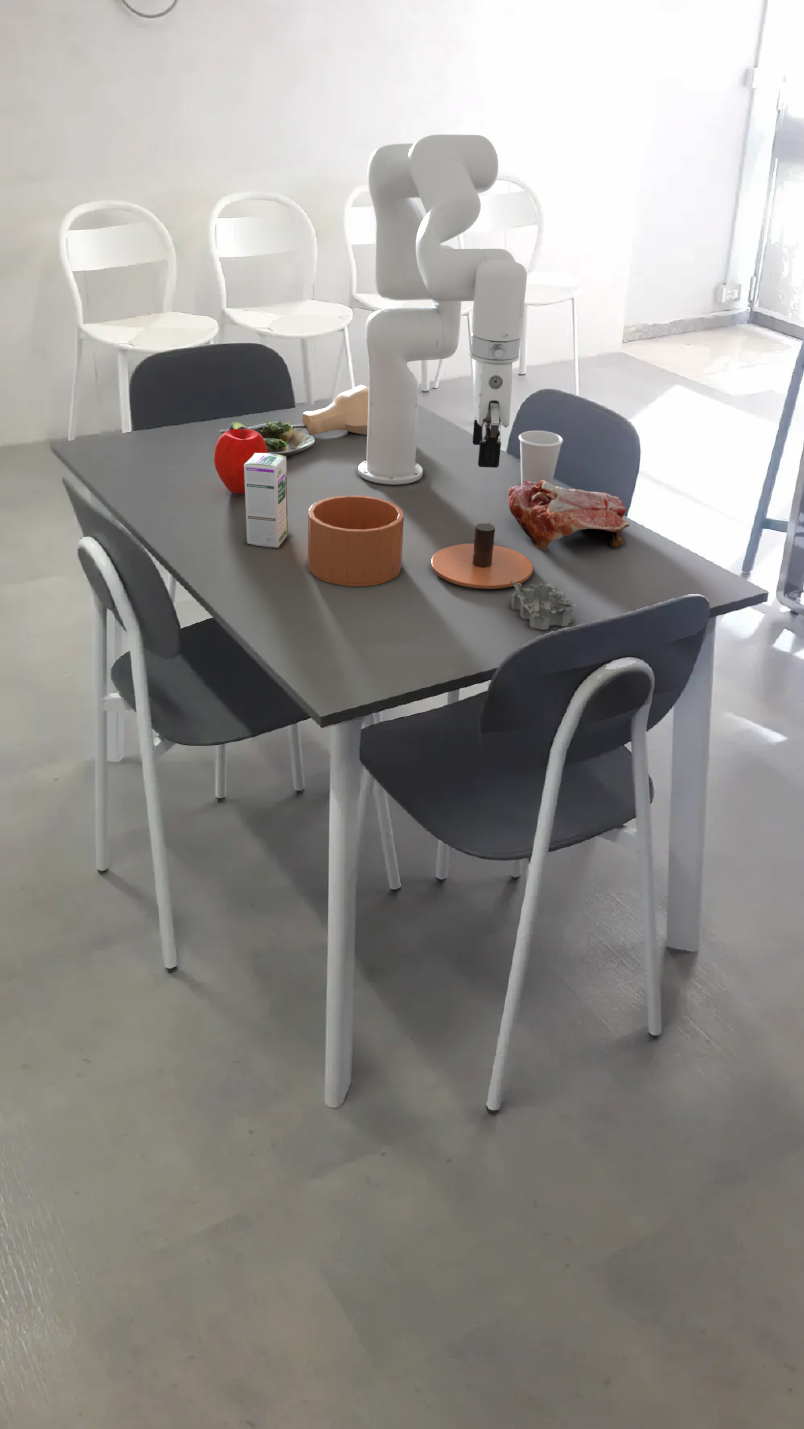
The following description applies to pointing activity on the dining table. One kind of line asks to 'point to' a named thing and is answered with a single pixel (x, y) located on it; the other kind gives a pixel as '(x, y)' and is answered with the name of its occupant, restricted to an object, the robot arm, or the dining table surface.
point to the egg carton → (542, 605)
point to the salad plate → (280, 437)
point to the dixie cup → (539, 455)
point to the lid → (482, 562)
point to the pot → (355, 540)
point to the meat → (564, 512)
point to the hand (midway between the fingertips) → (485, 455)
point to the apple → (236, 456)
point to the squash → (341, 413)
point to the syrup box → (266, 499)
